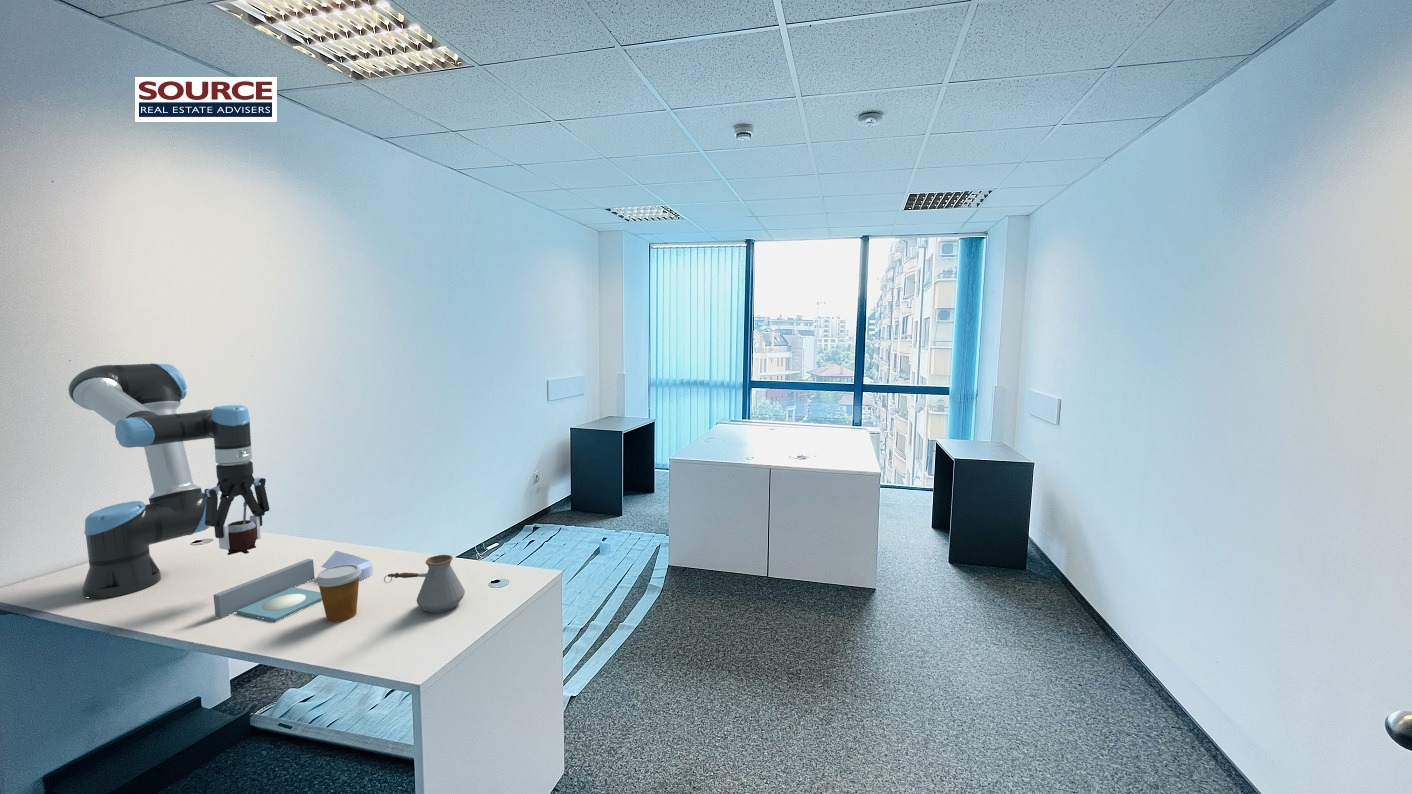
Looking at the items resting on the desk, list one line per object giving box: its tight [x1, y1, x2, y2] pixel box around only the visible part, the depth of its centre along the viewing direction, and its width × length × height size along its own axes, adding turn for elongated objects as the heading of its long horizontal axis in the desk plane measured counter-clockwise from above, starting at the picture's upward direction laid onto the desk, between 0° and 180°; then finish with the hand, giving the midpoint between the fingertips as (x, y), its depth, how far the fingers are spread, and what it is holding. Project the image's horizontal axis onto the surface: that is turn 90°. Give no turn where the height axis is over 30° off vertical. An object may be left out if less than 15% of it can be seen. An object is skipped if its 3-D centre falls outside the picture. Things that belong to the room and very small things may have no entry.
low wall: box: [212, 558, 316, 619], centre depth 147 cm, size 2×24×6 cm, turn 163°
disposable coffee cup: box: [315, 564, 361, 623], centre depth 137 cm, size 10×10×12 cm
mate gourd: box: [227, 500, 257, 556], centre depth 149 cm, size 8×8×15 cm
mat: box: [236, 587, 322, 622], centre depth 143 cm, size 14×14×1 cm
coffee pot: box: [383, 554, 466, 614], centre depth 137 cm, size 21×12×15 cm, turn 161°
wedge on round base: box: [320, 550, 374, 582], centre depth 161 cm, size 9×7×13 cm
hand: (240, 543), depth 149 cm, fingers closed on mate gourd, 7 cm apart
